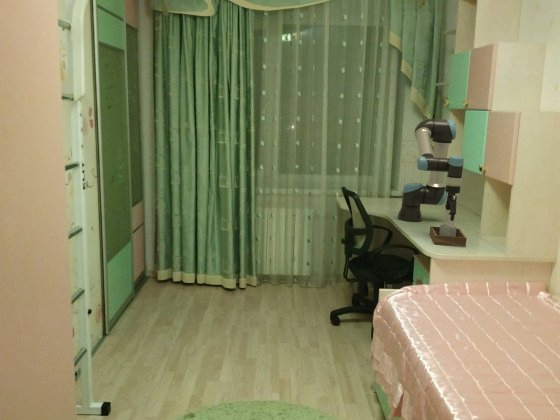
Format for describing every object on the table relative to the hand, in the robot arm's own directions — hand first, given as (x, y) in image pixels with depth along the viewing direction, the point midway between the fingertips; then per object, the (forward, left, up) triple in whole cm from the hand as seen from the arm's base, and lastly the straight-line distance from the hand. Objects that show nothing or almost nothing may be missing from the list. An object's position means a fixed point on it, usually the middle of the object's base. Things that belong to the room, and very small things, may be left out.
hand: (448, 224), depth 290 cm
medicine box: (0, 0, -10) cm, 10 cm away
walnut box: (0, 0, -10) cm, 10 cm away
